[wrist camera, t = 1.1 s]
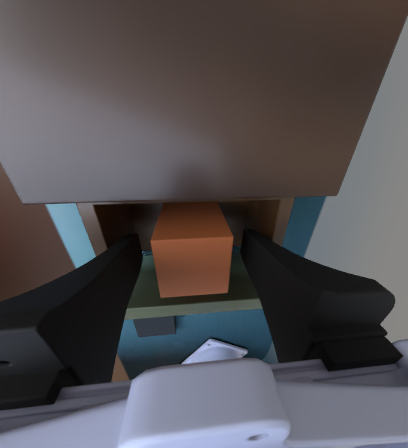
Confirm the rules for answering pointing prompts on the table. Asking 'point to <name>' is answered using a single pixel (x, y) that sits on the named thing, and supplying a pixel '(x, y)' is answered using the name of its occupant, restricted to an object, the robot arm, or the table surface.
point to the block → (192, 249)
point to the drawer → (147, 280)
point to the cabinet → (187, 96)
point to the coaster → (155, 326)
